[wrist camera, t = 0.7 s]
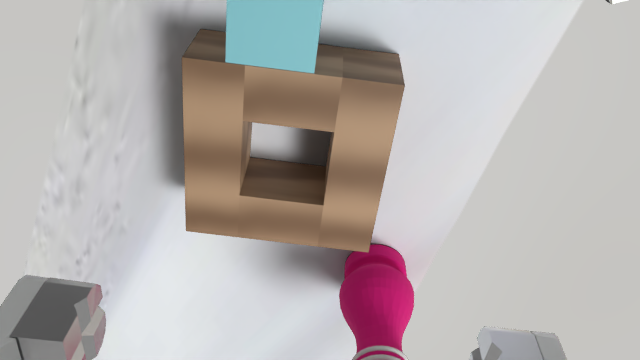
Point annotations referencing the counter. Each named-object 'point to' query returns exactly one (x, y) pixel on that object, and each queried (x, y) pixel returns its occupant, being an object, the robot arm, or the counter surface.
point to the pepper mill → (377, 302)
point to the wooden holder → (278, 176)
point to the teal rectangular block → (273, 33)
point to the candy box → (615, 1)
